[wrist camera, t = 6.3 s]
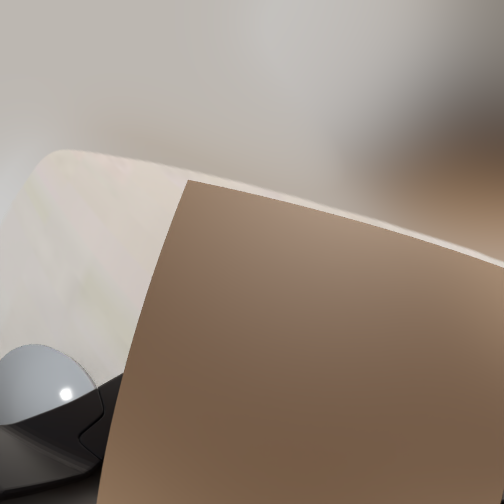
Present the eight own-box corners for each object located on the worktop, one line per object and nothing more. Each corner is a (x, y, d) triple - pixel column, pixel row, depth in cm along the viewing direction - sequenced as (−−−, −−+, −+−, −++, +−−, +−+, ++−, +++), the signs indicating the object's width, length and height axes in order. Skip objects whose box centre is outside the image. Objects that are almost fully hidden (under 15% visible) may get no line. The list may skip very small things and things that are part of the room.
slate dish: (96, 497, 15) (91, 501, 14) (-12, 443, 14) (-20, 443, 13) (118, 371, 20) (113, 369, 19) (10, 331, 19) (2, 327, 18)
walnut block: (277, 466, 13) (477, 572, 1) (178, 449, 13) (88, 587, 1) (293, 377, 15) (504, 268, 4) (199, 358, 15) (187, 179, 4)
